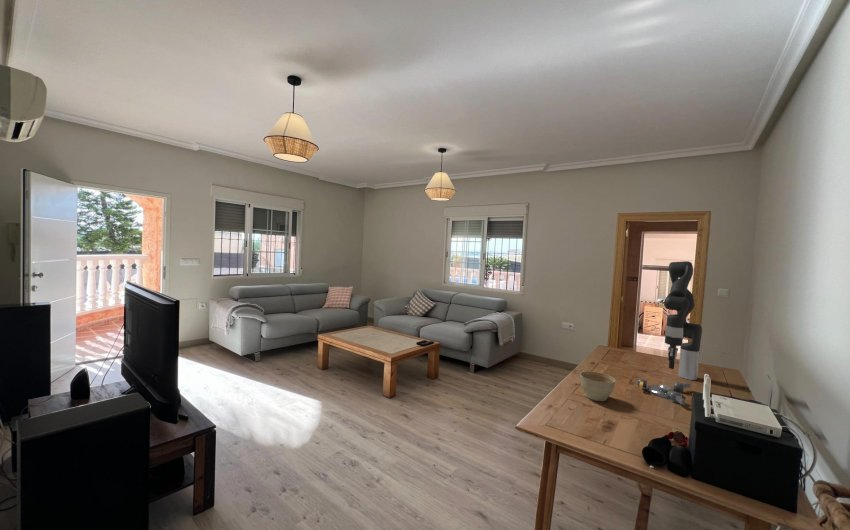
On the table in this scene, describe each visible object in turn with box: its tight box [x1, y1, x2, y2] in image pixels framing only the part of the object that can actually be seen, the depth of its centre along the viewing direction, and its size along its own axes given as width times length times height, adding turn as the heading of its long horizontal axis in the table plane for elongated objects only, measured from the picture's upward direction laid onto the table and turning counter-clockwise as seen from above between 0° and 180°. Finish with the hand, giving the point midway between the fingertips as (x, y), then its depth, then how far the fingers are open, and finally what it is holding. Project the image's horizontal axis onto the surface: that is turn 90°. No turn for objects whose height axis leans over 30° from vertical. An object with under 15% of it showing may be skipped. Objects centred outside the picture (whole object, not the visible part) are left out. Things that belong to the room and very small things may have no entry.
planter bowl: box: [579, 370, 617, 402], centre depth 180 cm, size 16×16×11 cm
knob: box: [669, 391, 686, 406], centre depth 177 cm, size 10×4×3 cm, turn 170°
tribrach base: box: [641, 383, 683, 404], centre depth 191 cm, size 21×19×4 cm
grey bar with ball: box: [673, 381, 691, 392], centre depth 194 cm, size 10×4×3 cm, turn 110°
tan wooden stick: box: [636, 378, 648, 390], centre depth 194 cm, size 10×4×3 cm, turn 144°
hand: (671, 368), depth 185 cm, fingers closed
